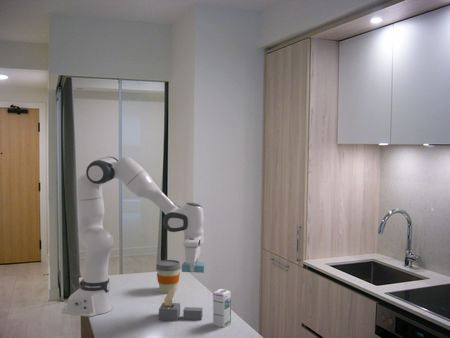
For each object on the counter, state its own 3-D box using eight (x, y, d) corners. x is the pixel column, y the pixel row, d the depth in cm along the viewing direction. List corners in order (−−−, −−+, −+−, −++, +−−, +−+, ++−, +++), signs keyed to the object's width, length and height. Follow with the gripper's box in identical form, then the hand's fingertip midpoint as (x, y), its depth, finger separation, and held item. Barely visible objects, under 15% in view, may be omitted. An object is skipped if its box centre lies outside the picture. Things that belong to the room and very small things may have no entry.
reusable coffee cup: (162, 296, 232) (162, 267, 231) (152, 289, 243) (152, 261, 242) (184, 291, 239) (184, 263, 238) (173, 285, 249) (173, 258, 249)
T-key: (170, 311, 211) (170, 289, 211) (174, 311, 211) (174, 289, 211) (164, 323, 197) (164, 299, 197) (168, 323, 197) (168, 299, 197)
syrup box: (224, 327, 193) (224, 294, 192) (212, 324, 196) (212, 291, 195) (231, 323, 197) (231, 290, 197) (219, 320, 200) (219, 288, 200)
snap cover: (181, 271, 204) (181, 265, 204) (184, 268, 210) (184, 261, 210) (203, 272, 203) (203, 266, 203) (205, 268, 209) (205, 262, 209)
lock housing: (159, 320, 201) (159, 308, 200) (162, 313, 209) (162, 302, 208) (200, 321, 199) (200, 310, 199) (202, 314, 207) (203, 303, 207)
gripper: (190, 234, 216) (190, 262, 217) (182, 243, 196) (182, 275, 197) (204, 234, 216) (203, 263, 216) (197, 243, 195) (197, 275, 196)
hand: (193, 269), depth 206 cm, fingers closed on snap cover, 6 cm apart
